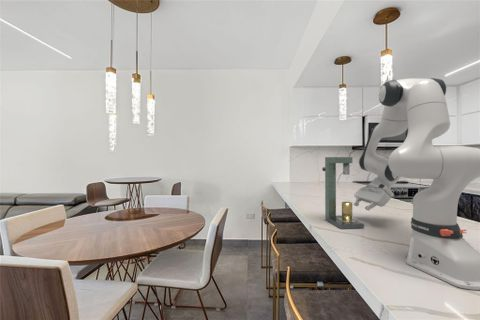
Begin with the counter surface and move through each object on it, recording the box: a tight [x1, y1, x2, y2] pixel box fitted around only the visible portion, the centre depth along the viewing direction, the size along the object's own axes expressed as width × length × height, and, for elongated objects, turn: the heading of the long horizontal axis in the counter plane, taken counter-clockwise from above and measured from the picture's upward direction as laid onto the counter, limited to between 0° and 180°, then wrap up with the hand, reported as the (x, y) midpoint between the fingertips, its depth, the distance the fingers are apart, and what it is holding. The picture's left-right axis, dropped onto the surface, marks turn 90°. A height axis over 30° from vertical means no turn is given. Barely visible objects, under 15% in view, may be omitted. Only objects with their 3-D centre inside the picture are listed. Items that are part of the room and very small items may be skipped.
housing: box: [341, 201, 353, 221], centre depth 118 cm, size 5×5×9 cm
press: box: [321, 156, 365, 230], centre depth 121 cm, size 22×12×35 cm, turn 5°
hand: (360, 207), depth 118 cm, fingers open, 8 cm apart
